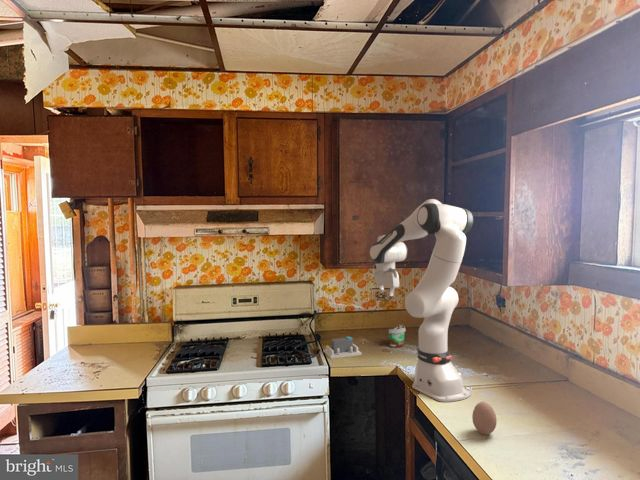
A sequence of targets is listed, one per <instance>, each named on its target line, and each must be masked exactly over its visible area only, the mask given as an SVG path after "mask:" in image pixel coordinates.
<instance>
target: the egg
mask: <svg viewBox="0 0 640 480" xmlns="http://www.w3.org/2000/svg"><path fill="white" fill-rule="evenodd" d="M471 415H472V418H471V419H472V423H473V426H474V429H476V430H477V431H478V432H479V433H480V434H482V435H485V436H486V435H490V434H492V433H493V432H494V431H495V429H496V427H497V424H498V423H497V422H498V421H497V415H496V412H495V410H494V408H493V407H492V405H491V404H490V403H488V402H487V401H480V402H478V403H477V404H476V405H475V406H474V408H473V411H472V414H471Z"/></svg>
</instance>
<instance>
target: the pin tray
mask: <svg viewBox="0 0 640 480" xmlns="http://www.w3.org/2000/svg"><path fill="white" fill-rule="evenodd" d="M322 351H323V353H325V355H326V356H327V357H328V358H330V360H333V359H342V358H349V357H355V356H356V357H357V356H361V355H362V354H363V353H362V352H361V351H360V350H359V346H357V345H356V344H354V343H353V347H352V346H350V352H343V353H339V348H337V353H336V354H334V350H332V349H331V346H329V345H328V344H327V345H325V349H322Z"/></svg>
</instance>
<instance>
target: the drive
mask: <svg viewBox="0 0 640 480" xmlns="http://www.w3.org/2000/svg"><path fill="white" fill-rule="evenodd" d="M353 338H354V337H351V335H350V336H345V337H340V338H333V339H331V340H330V341H331V343H330V344H331V345H330V348H331V349H332V350H334V354H336V353H337V348H339V353H343V352H350V346H352V347H353V344H354V343H353V341H354V340H353Z"/></svg>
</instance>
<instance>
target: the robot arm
mask: <svg viewBox="0 0 640 480" xmlns="http://www.w3.org/2000/svg"><path fill="white" fill-rule="evenodd" d="M473 224H474V216H473V213H472V212H471V211H470V210H468V209H467V208H464V207H458V206H454V205H450V204H445V203H442V202H441V201H439V199H435V198H430V199H426V200H425V201H424V202H423V203H421V204H420V205H419V206H417V208H416V209H415V210H414V211H413V212H412V213H411V214H410V215H409V216H408V217H406V219H404V220H403V221H402V222H400V223H399V224H397V225H395V226H394V227H393V228H391V229H390V230H389V232H387V233H386V234H381V235H379V236H378V237H377V241H375V242H374V243H372V245H371V246H370V248H369V257H370V259H371V260H372V261H373V262H374V263H375V264H373V265H372V267H373V268H372V269H373V278H374V279H373V280H374V283H376V284H378V287H379V293H380V294H384V293H385V291H386V290H385V288H384V286H385V287H388V288H389V292H388V296H389V297H394V293H395V290H396V289H397V288H399V287H400V276H399V273H398V271H397V269H396V263H397V262H399V263H400V262H403V261H405V260H406V259H407V257H408V254H409V253H408V252H409V249H408V246H407V244H406V243H405V241H409V240H417V239H418V240H419V239H422V238H425V237H427V236H428V235H429V236H433V235H434V236H435V239H436V240H435V245H434V247H433V250H432V253H431V256H430V259H429V261H428V262H429V263H428V265H427V268H426V270H425V272H424V274H423V275H422V277H421V279H420V280H419V282H418V283H417V285H416V286H415V288H414V289H413V290H411V291H410V292H409V293H408V294H407V295H406V298H405V302H404V305H405V310H406V311H407V313H408V314H409V315H410V316H411V317H414V318H421V319H422V318H423V322H422V323H421V324H420V326H419V328H418V335H417V336H418V348H417V352H416V353H417V358H418V360H417V363H416V365H415V369H414V371H415V372H414V382H413V383H412V386H411V387H412V389H414V390H416V391H418V392H420V393H423V394H424V395H426V396H428V397H430V398H431V399H434V400H436V401H438V402H443V403H445V402H446V403H448V402H449V403H450V402H456V401H457V402H458V401H462V400H465V399H468V398H470V396H471V392H470V391H468V390H467V389H466V388H465V387H464V381H463V378H462V373H461V372H458V371H457V368H456V367H455V366H454V364H453V363H452V362H451V361H452V358H453V357H452V355H451V354H450V352H449V349H448V336H449V335H448V333H449V332H448V331H449V327H450V326H449V325H450V323H451V319H452V315H453V312H454V310H455V308H456V307H457V306H458V304H459V294H458V292H457V291H456V289H455V288H453V287H452V284H453V283H454V282H455V280H456V279H457V276H458V273H459V271H460V268H461V264H462V262H463V257H464V255H465V251H466V245H467V236H466V234H467V233H469V232H470V231H471V230H472V227H473Z"/></svg>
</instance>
